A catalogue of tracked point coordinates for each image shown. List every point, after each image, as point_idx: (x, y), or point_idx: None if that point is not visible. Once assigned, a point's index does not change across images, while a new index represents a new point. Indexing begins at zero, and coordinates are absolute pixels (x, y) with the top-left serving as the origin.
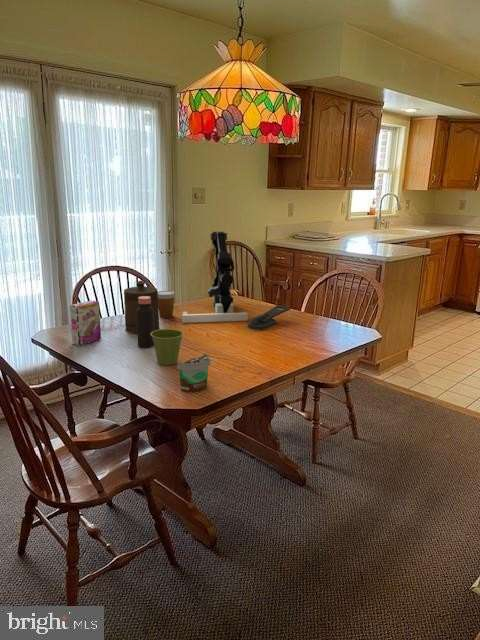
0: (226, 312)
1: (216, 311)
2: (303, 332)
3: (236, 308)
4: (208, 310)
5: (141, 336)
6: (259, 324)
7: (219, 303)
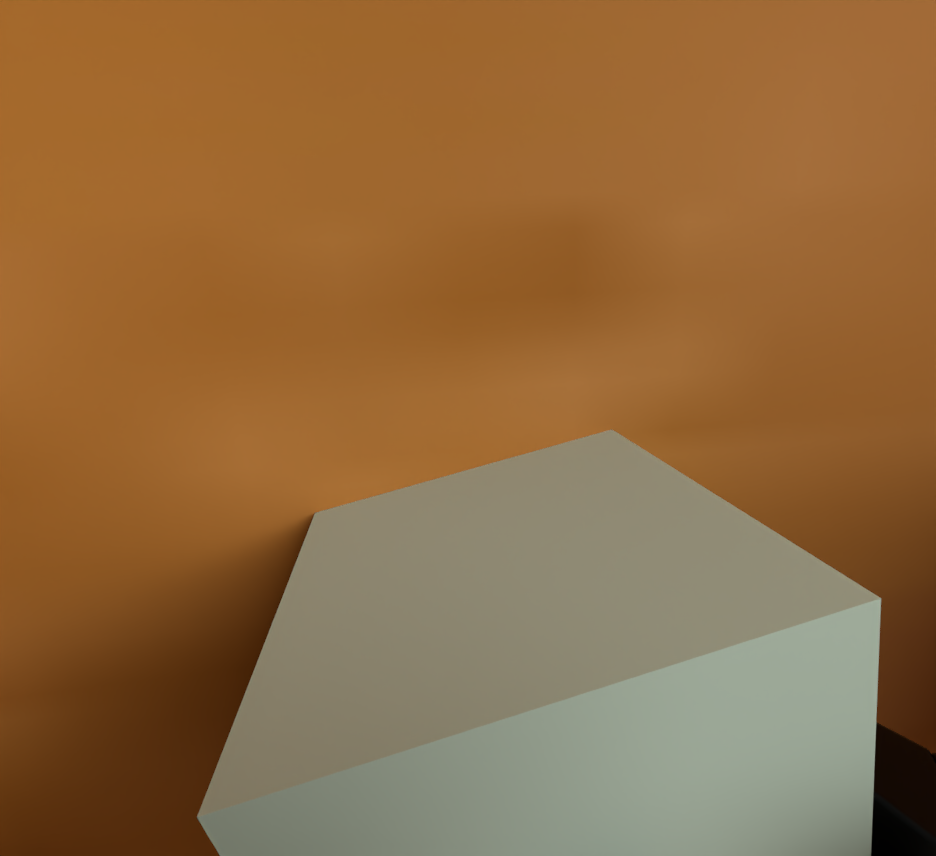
0: None
1: (461, 517)
2: None
3: None
4: (899, 210)
5: None
6: None
7: (868, 782)
